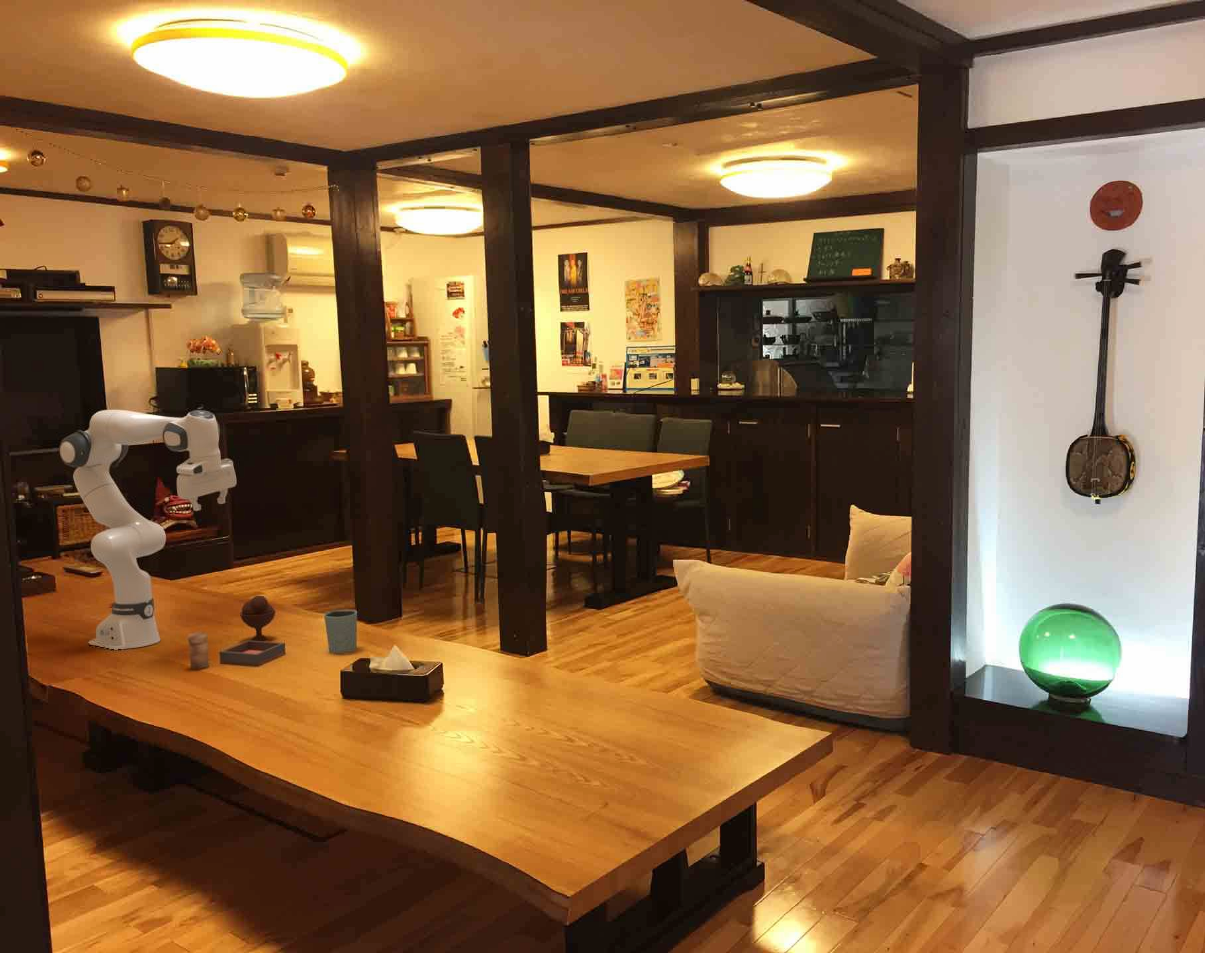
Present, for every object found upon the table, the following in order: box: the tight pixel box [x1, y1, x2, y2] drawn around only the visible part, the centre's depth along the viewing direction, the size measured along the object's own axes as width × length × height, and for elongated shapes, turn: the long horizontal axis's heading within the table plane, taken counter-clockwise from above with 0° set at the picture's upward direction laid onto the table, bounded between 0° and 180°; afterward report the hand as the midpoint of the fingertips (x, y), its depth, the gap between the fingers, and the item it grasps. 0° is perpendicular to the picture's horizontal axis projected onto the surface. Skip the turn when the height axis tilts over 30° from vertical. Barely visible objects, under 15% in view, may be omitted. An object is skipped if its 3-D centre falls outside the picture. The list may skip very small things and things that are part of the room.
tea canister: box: [187, 632, 210, 671], centre depth 308 cm, size 5×5×10 cm
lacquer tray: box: [219, 639, 286, 667], centre depth 317 cm, size 14×14×4 cm
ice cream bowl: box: [239, 595, 276, 642], centre depth 338 cm, size 11×11×15 cm
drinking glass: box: [323, 609, 358, 655], centre depth 324 cm, size 10×10×12 cm
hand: (209, 506), depth 321 cm, fingers open, 8 cm apart
